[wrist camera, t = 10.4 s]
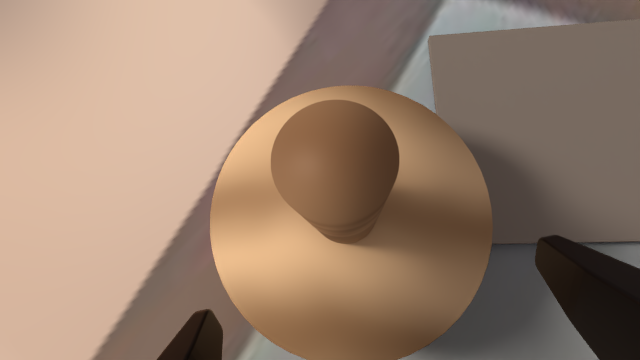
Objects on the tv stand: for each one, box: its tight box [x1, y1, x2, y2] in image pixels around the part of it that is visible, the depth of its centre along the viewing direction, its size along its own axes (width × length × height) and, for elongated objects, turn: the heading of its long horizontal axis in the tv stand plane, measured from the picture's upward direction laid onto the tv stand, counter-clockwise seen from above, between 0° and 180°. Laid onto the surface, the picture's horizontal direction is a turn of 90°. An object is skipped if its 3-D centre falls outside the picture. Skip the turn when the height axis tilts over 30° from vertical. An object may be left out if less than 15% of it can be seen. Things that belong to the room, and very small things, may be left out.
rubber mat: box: [428, 19, 640, 244], centre depth 21 cm, size 15×15×1 cm
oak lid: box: [210, 86, 493, 360], centre depth 13 cm, size 14×14×10 cm
